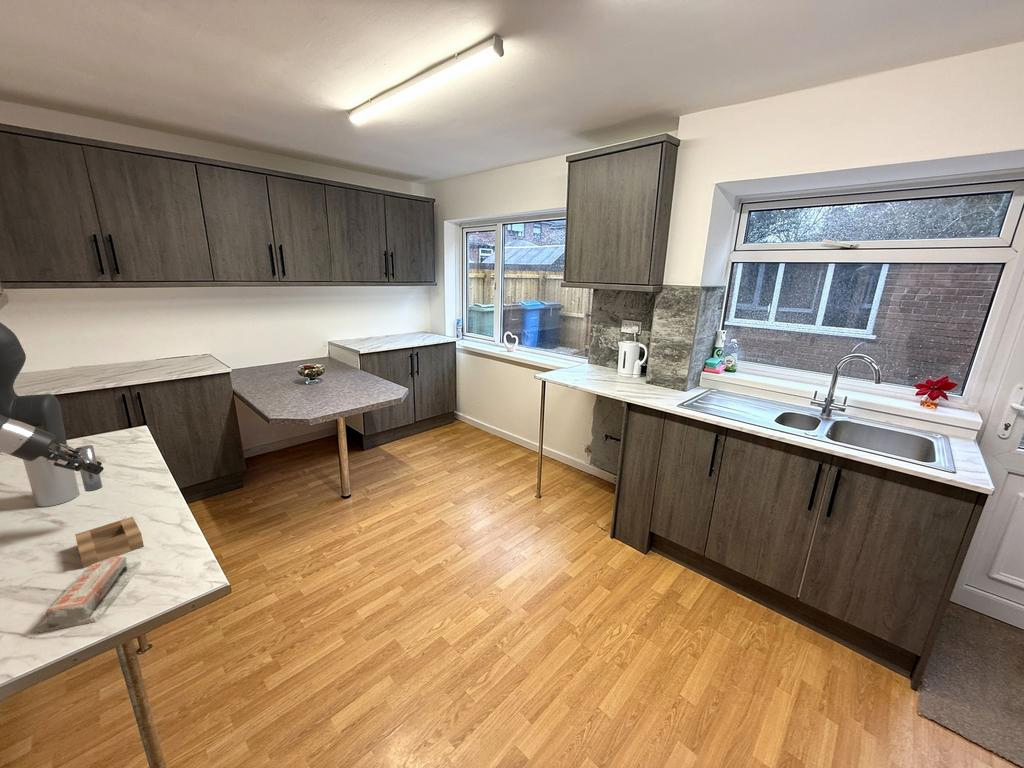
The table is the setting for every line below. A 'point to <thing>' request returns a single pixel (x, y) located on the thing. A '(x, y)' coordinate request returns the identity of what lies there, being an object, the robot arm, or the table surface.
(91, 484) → the steel rod
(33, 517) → the table surface
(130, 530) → the wooden frame
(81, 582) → the packaged product
